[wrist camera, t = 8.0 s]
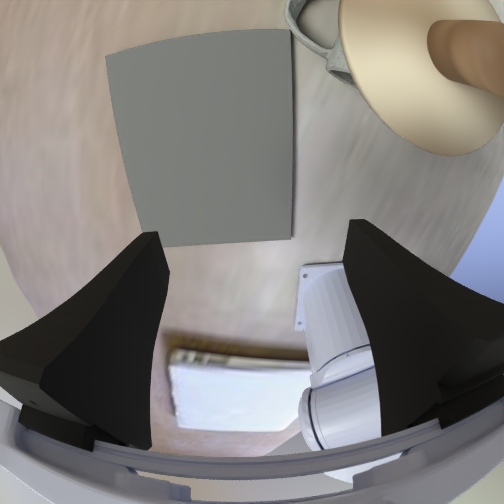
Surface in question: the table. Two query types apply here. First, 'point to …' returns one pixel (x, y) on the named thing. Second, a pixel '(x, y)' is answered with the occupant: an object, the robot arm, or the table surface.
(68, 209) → the table surface
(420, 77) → the lid
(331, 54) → the ceramic mug
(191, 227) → the mat
